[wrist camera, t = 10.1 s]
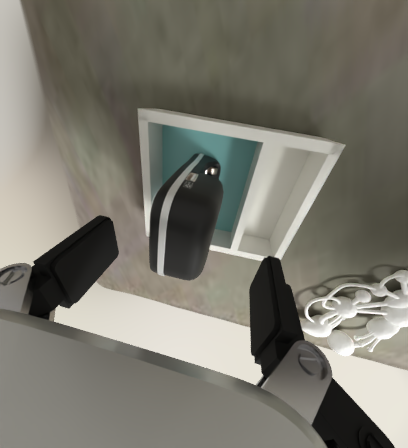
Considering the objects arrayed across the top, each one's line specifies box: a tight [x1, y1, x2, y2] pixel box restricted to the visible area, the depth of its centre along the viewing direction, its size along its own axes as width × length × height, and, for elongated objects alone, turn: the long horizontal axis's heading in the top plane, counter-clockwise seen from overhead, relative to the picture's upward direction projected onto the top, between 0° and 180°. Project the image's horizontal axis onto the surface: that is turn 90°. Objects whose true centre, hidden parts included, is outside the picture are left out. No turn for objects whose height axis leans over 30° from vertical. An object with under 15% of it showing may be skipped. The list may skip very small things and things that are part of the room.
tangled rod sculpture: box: [300, 270, 408, 356], centre depth 26 cm, size 19×14×4 cm
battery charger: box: [149, 153, 224, 280], centre depth 15 cm, size 7×4×11 cm, turn 169°
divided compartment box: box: [138, 108, 345, 261], centre depth 18 cm, size 16×13×4 cm
